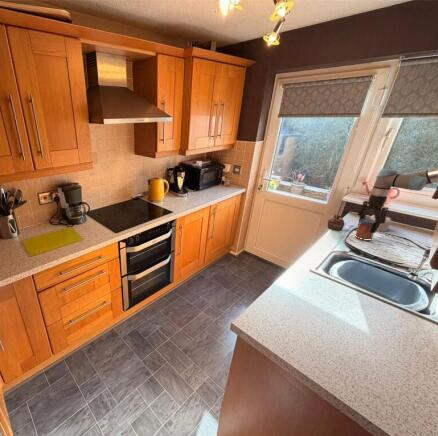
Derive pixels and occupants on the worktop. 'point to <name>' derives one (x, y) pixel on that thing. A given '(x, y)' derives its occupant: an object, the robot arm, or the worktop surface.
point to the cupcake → (336, 223)
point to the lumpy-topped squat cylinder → (383, 224)
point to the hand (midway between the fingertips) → (366, 229)
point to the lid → (367, 221)
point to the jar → (364, 232)
